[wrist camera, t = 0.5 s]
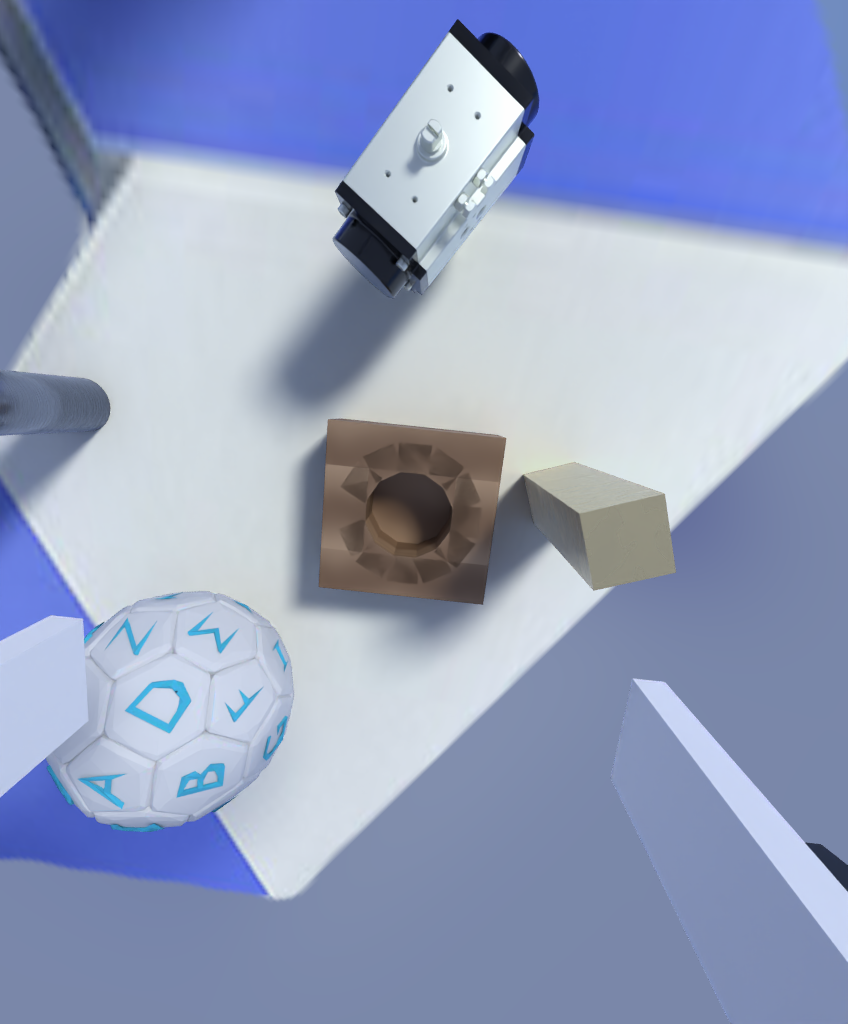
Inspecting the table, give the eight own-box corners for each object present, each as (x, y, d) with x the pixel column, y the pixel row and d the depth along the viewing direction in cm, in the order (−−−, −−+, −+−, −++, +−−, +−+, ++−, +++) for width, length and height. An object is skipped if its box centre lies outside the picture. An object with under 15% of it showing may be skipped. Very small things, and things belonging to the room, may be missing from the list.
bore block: (341, 418, 34) (327, 419, 30) (497, 435, 34) (506, 438, 30) (332, 566, 37) (318, 587, 33) (477, 581, 37) (482, 604, 32)
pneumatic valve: (355, 281, 32) (309, 205, 21) (464, 137, 30) (481, -38, 18) (413, 334, 33) (401, 290, 21) (524, 197, 31) (577, 64, 19)
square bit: (523, 474, 35) (579, 513, 21) (574, 462, 35) (664, 493, 21) (533, 522, 36) (593, 590, 22) (583, 511, 35) (675, 572, 22)
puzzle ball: (155, 543, 37) (-29, 628, 22) (332, 589, 37) (266, 701, 23) (134, 700, 40) (-39, 863, 26) (297, 740, 41) (219, 923, 26)
